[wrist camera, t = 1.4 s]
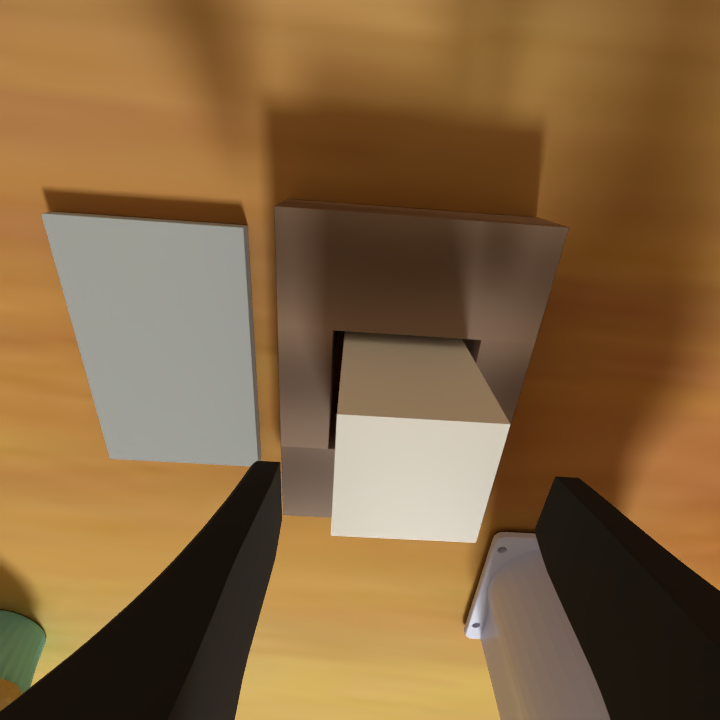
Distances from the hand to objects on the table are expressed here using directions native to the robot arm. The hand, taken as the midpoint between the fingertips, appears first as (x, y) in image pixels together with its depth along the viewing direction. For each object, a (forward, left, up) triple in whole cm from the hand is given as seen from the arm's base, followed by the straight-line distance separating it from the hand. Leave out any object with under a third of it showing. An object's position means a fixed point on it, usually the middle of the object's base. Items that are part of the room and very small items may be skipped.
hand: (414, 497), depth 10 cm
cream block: (0, 0, -8) cm, 8 cm away
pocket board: (0, 0, -8) cm, 8 cm away
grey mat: (0, +9, -8) cm, 12 cm away
